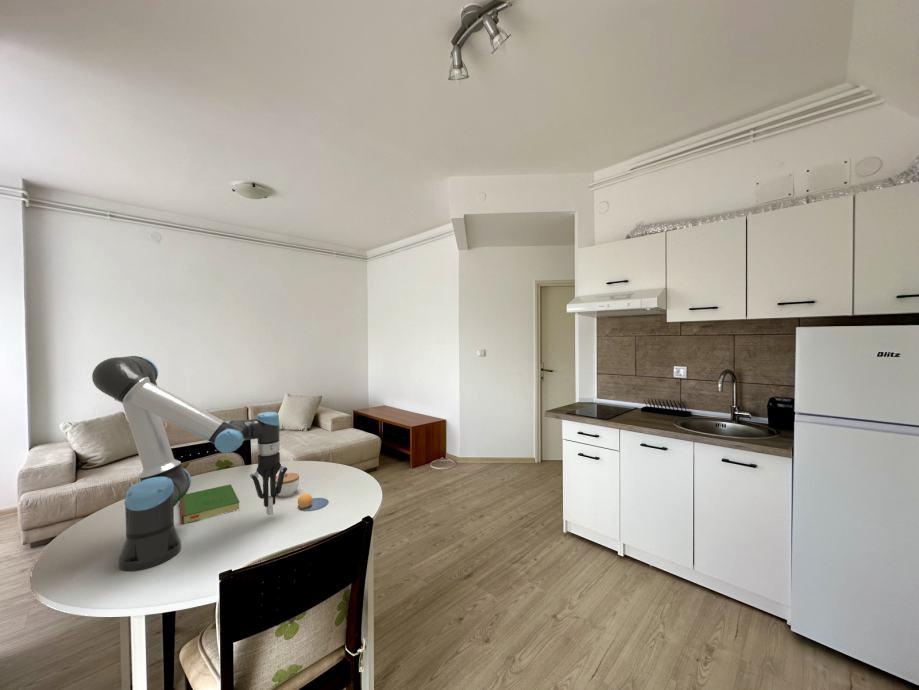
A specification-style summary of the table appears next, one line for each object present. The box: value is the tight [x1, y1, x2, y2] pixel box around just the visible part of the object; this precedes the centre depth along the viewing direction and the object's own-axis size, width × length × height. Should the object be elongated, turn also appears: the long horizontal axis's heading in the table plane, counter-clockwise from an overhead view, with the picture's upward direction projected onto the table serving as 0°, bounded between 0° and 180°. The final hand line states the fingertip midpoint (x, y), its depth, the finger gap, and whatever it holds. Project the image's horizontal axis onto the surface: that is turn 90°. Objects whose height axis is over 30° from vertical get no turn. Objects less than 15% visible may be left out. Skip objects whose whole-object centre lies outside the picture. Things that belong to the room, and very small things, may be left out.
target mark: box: [297, 497, 330, 512], centre depth 153 cm, size 12×12×1 cm
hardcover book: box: [178, 484, 240, 525], centre depth 152 cm, size 25×19×4 cm
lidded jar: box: [276, 472, 300, 498], centre depth 163 cm, size 11×11×9 cm
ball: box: [297, 493, 313, 508], centre depth 150 cm, size 6×6×6 cm
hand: (269, 513), depth 141 cm, fingers closed
